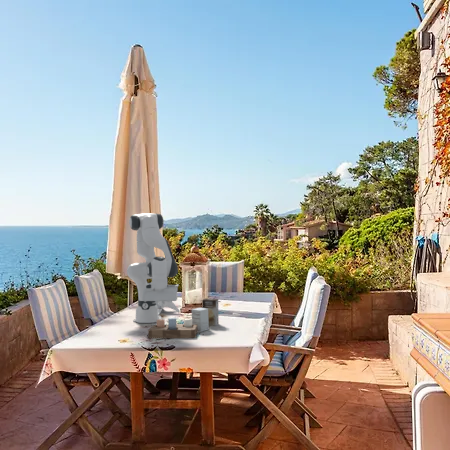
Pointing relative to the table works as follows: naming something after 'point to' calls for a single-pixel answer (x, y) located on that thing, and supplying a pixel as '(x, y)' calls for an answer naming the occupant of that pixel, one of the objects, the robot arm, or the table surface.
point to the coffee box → (211, 311)
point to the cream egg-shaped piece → (187, 322)
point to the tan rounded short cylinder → (160, 323)
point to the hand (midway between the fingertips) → (160, 308)
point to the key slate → (172, 324)
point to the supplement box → (200, 318)
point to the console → (173, 332)
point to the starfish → (168, 304)
